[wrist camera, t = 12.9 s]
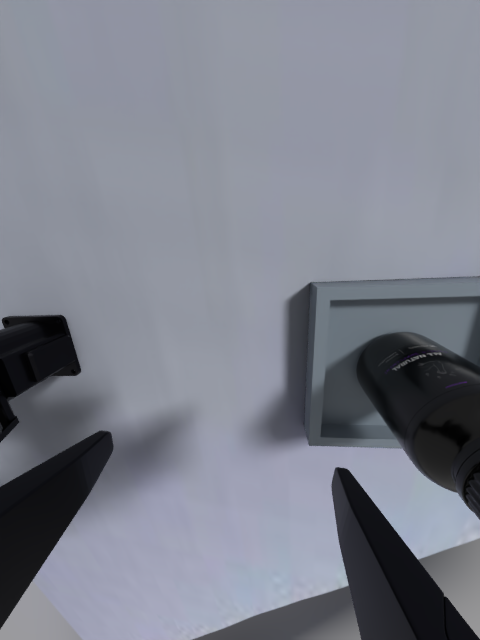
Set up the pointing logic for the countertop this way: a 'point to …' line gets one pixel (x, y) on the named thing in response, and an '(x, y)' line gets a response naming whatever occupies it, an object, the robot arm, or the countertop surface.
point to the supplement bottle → (428, 407)
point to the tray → (365, 327)
